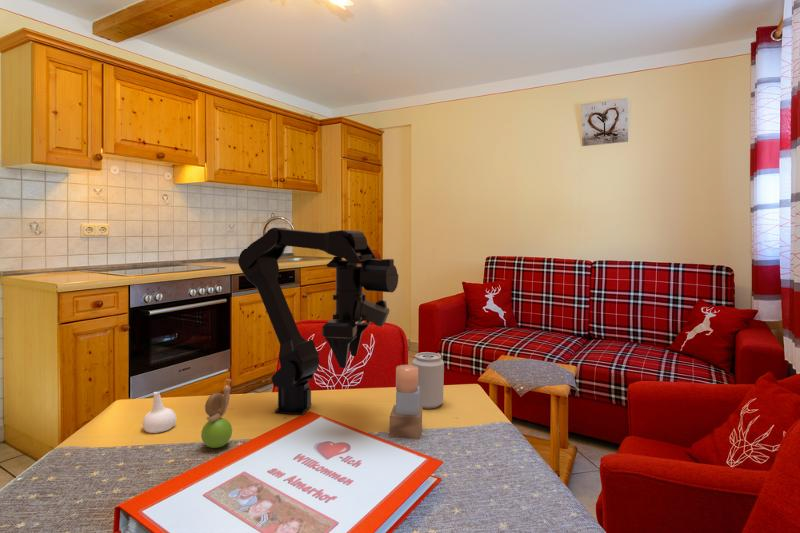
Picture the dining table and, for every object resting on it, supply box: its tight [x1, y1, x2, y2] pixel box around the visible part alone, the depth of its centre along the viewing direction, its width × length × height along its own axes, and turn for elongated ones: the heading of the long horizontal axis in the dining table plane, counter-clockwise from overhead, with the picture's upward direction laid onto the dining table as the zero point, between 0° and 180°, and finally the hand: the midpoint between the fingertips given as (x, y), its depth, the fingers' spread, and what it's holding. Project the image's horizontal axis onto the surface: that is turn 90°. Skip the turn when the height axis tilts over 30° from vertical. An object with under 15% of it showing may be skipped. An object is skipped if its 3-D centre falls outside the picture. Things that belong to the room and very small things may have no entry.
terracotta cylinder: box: [395, 364, 418, 393], centre depth 96 cm, size 4×4×4 cm
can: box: [411, 351, 445, 410], centre depth 111 cm, size 8×8×12 cm
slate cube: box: [395, 386, 420, 416], centre depth 96 cm, size 4×4×4 cm
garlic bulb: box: [142, 391, 177, 434], centre depth 96 cm, size 6×6×8 cm
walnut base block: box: [388, 404, 423, 440], centre depth 96 cm, size 6×6×4 cm
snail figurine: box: [200, 378, 233, 449], centre depth 88 cm, size 5×6×12 cm
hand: (348, 361), depth 100 cm, fingers open, 9 cm apart
